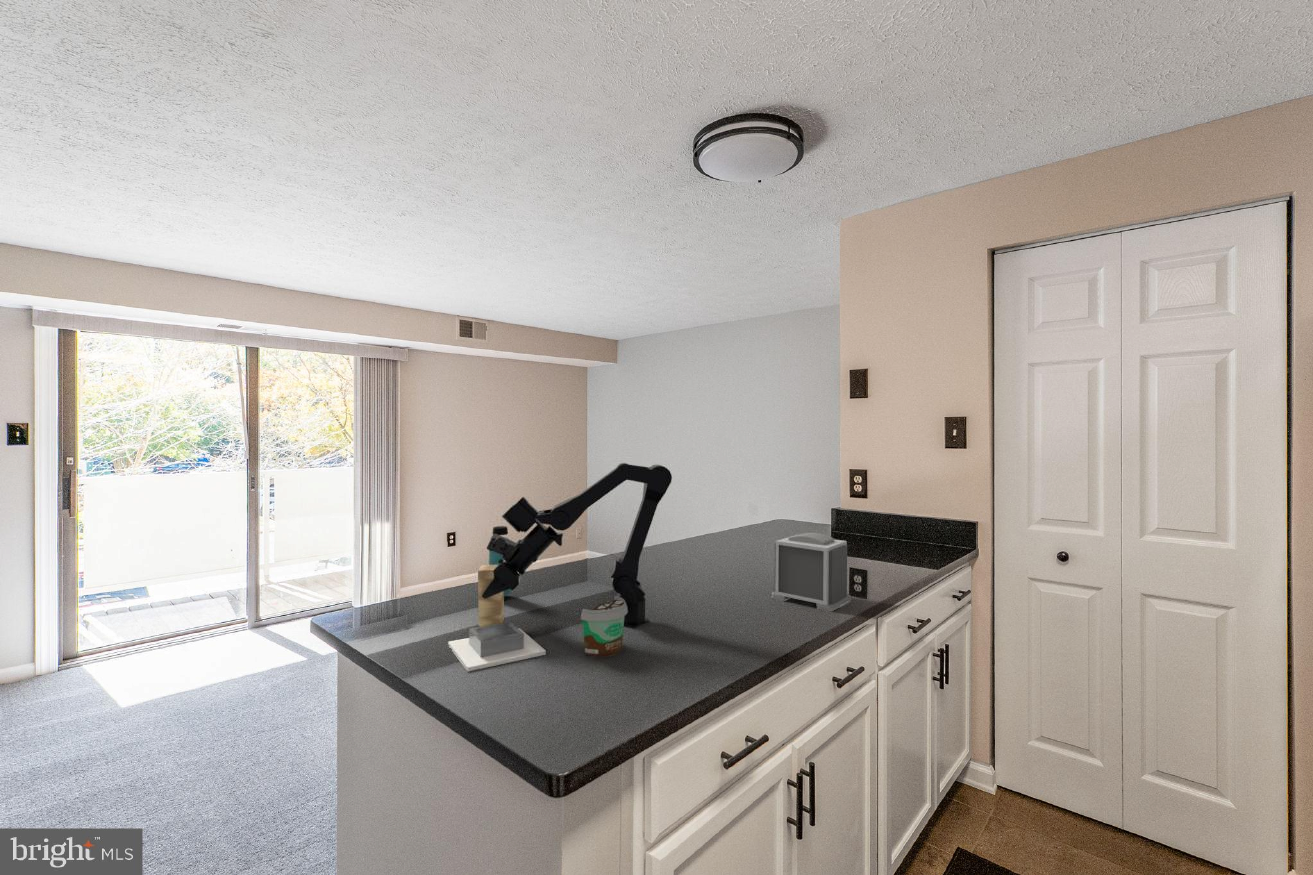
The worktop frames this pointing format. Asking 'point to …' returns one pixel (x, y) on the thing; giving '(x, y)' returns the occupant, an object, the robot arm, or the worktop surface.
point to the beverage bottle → (495, 556)
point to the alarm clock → (811, 569)
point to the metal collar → (496, 639)
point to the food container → (604, 628)
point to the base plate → (475, 662)
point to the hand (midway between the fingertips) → (485, 594)
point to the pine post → (489, 599)
